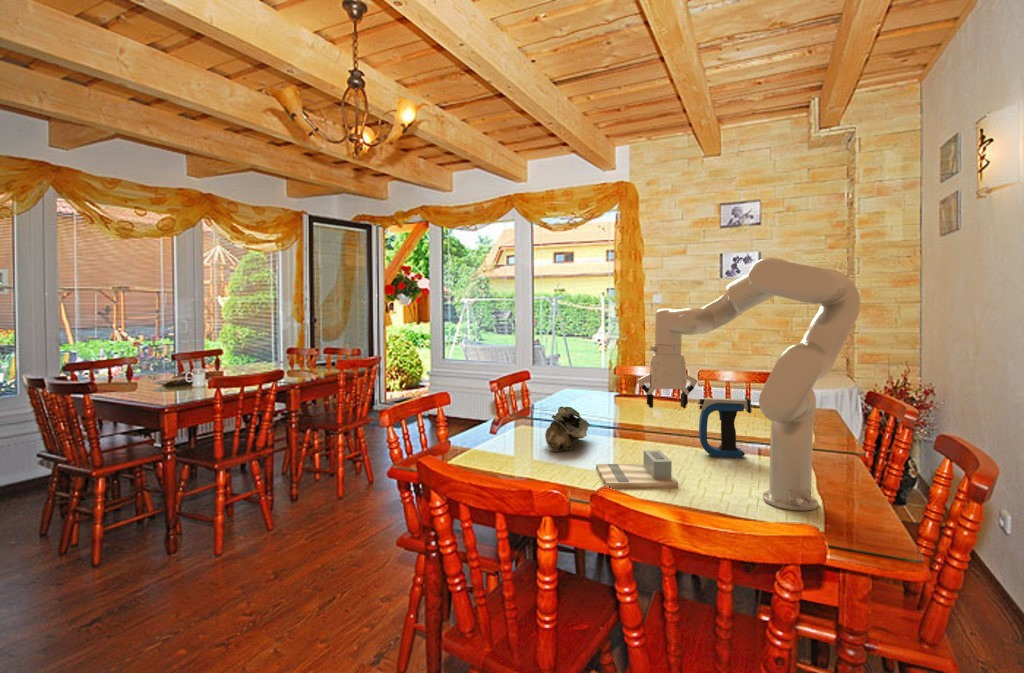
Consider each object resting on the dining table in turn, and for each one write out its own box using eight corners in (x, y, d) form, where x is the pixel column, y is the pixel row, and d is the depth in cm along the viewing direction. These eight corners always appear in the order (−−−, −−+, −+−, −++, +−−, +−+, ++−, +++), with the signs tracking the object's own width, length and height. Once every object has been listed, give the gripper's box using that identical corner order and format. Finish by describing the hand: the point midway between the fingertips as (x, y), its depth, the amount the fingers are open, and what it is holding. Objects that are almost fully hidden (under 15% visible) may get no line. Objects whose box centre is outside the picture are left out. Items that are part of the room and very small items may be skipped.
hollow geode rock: (575, 447, 213) (550, 418, 217) (598, 426, 209) (572, 397, 213) (553, 465, 187) (525, 431, 191) (579, 441, 184) (550, 407, 187)
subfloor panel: (678, 487, 152) (678, 481, 152) (606, 488, 152) (606, 482, 152) (660, 468, 170) (660, 463, 170) (596, 468, 170) (596, 463, 170)
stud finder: (671, 478, 155) (671, 460, 154) (653, 478, 155) (653, 461, 154) (659, 466, 167) (659, 449, 166) (643, 466, 167) (643, 449, 166)
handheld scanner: (751, 459, 179) (752, 399, 178) (700, 456, 182) (700, 398, 181) (748, 455, 183) (749, 397, 182) (698, 453, 186) (698, 396, 186)
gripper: (641, 351, 159) (640, 409, 160) (701, 351, 158) (700, 409, 159) (636, 349, 166) (635, 404, 167) (693, 349, 166) (692, 405, 167)
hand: (666, 407), depth 163 cm, fingers open, 9 cm apart
